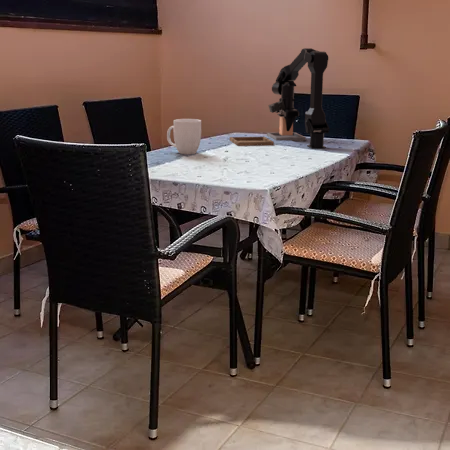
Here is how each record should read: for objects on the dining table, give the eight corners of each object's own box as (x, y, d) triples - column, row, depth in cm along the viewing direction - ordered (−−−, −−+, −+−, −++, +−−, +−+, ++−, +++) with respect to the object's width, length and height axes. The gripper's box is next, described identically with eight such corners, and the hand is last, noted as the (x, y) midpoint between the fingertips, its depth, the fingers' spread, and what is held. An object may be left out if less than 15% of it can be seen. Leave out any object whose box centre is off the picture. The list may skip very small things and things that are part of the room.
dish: (273, 146, 280) (273, 141, 280) (237, 147, 277) (237, 142, 277) (264, 141, 295) (264, 136, 295) (229, 141, 292) (229, 137, 292)
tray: (305, 141, 297) (305, 137, 297) (275, 141, 294) (276, 137, 294) (295, 136, 312) (295, 132, 312) (266, 136, 309) (266, 132, 309)
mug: (160, 152, 260) (159, 120, 257) (174, 149, 269) (174, 117, 266) (192, 156, 254) (192, 122, 250) (206, 152, 263) (206, 119, 259)
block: (292, 135, 301) (293, 117, 299) (282, 135, 300) (282, 117, 298) (289, 133, 305) (290, 116, 303) (279, 133, 305) (279, 116, 302)
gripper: (265, 94, 305) (264, 127, 309) (276, 97, 288) (274, 133, 292) (288, 94, 307) (286, 127, 312) (300, 97, 290) (298, 132, 294)
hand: (286, 130), depth 302 cm, fingers closed on block, 5 cm apart
